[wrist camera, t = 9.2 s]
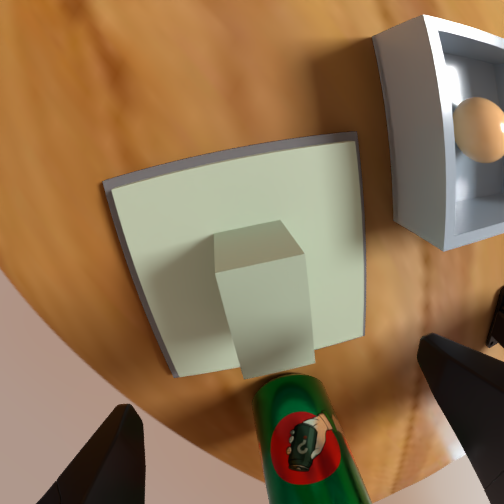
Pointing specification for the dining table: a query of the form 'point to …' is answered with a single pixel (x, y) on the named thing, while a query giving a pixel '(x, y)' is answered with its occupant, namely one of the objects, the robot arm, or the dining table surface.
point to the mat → (207, 159)
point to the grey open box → (444, 128)
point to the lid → (250, 257)
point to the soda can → (304, 445)
